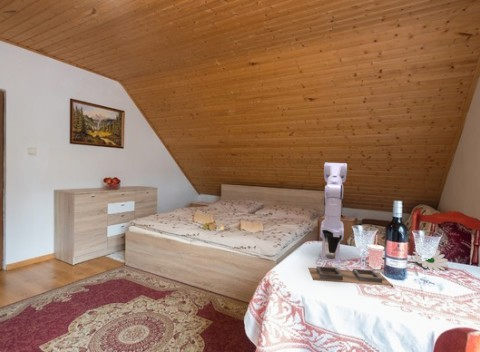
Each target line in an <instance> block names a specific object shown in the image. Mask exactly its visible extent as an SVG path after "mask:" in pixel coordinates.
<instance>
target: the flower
mask: <svg viewBox="0 0 480 352" xmlns="http://www.w3.org/2000/svg"><path fill="white" fill-rule="evenodd" d="M436 250H437V252H436V255H435V256H434V257H433V258H431V259H428V260H425V261H422V259H421V257H420V256H418V254H417V252H416V250H415V248H414V251H413V252H412V253H413V254H414V255H413V258H414V260H417V261H409V260H407V261H408V262H407V263H411V264H421V266H422V268H424V269H427V268H428V269H429V270H430V271H433V270H434V271H436V272H441V270H442V271H445V268H449V264H447V263H448V262H449V260H448V258H444V257H445V255H446V254H444V253H443V254H441V250H439V248H438V249H436ZM384 258H385V257H382V260H385V259H384Z"/></svg>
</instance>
